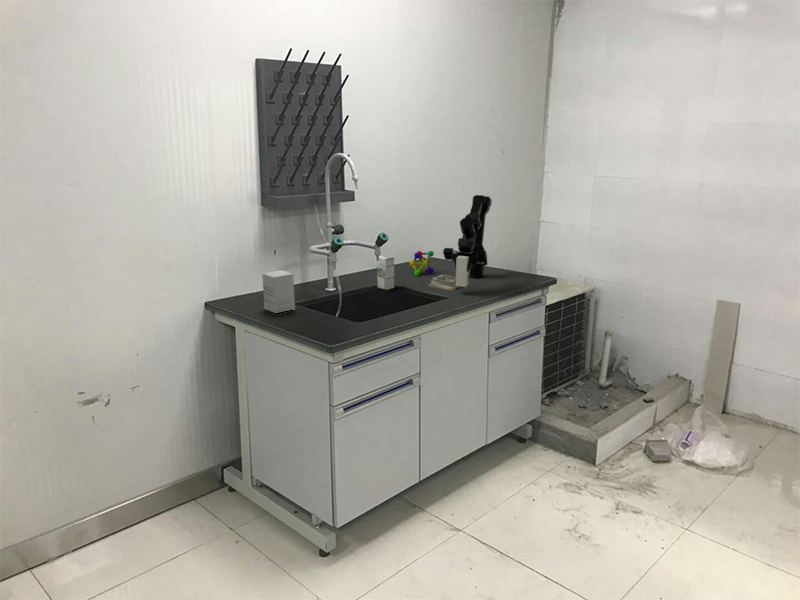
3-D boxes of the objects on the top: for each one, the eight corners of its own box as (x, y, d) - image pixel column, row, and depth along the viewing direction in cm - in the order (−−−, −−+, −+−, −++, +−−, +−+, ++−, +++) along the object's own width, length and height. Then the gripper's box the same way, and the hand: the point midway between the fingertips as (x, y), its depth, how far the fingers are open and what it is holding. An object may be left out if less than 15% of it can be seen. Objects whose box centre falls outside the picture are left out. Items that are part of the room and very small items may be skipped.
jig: (441, 281, 297) (441, 274, 296) (465, 284, 290) (465, 277, 289) (428, 286, 287) (428, 279, 286) (452, 290, 280) (452, 282, 279)
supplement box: (283, 305, 255) (281, 269, 251) (295, 310, 248) (294, 273, 244) (263, 309, 249) (261, 272, 245) (275, 314, 242) (273, 276, 239)
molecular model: (416, 276, 306) (417, 253, 303) (408, 273, 311) (408, 250, 308) (435, 274, 312) (436, 251, 309) (426, 271, 318) (427, 248, 315)
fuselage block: (458, 283, 277) (458, 255, 274) (468, 284, 276) (469, 256, 272) (455, 286, 273) (456, 257, 269) (465, 286, 271) (466, 258, 268)
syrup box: (394, 288, 284) (394, 256, 280) (385, 290, 280) (385, 258, 276) (385, 285, 288) (385, 254, 284) (376, 287, 284) (376, 256, 280)
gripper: (444, 229, 274) (437, 259, 267) (487, 231, 269) (480, 262, 262) (448, 244, 284) (441, 273, 277) (489, 246, 278) (483, 276, 271)
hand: (461, 271), depth 271 cm, fingers closed on fuselage block, 4 cm apart
